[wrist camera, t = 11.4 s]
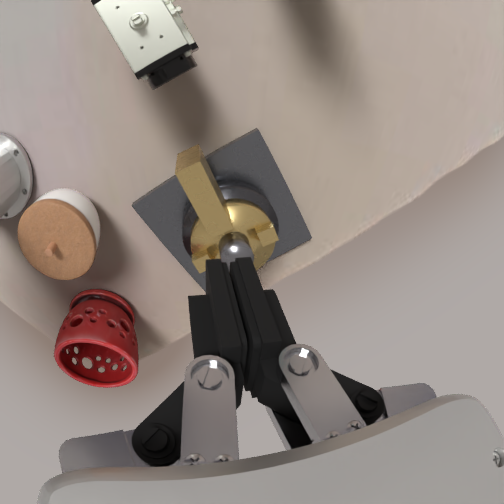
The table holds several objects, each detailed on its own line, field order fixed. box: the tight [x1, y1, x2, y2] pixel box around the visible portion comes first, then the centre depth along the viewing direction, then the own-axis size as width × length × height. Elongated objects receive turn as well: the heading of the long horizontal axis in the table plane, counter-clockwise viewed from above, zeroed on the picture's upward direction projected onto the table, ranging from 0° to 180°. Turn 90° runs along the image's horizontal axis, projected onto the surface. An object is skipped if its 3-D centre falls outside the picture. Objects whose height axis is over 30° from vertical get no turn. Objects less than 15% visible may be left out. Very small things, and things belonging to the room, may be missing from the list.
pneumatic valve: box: [91, 0, 199, 90], centre depth 19 cm, size 6×12×12 cm, turn 25°
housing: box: [132, 128, 312, 292], centre depth 38 cm, size 18×18×4 cm
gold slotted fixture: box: [175, 144, 279, 273], centre depth 31 cm, size 17×10×6 cm, turn 21°
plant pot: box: [54, 289, 138, 388], centre depth 40 cm, size 13×13×12 cm
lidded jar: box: [18, 188, 100, 280], centre depth 30 cm, size 11×11×9 cm
